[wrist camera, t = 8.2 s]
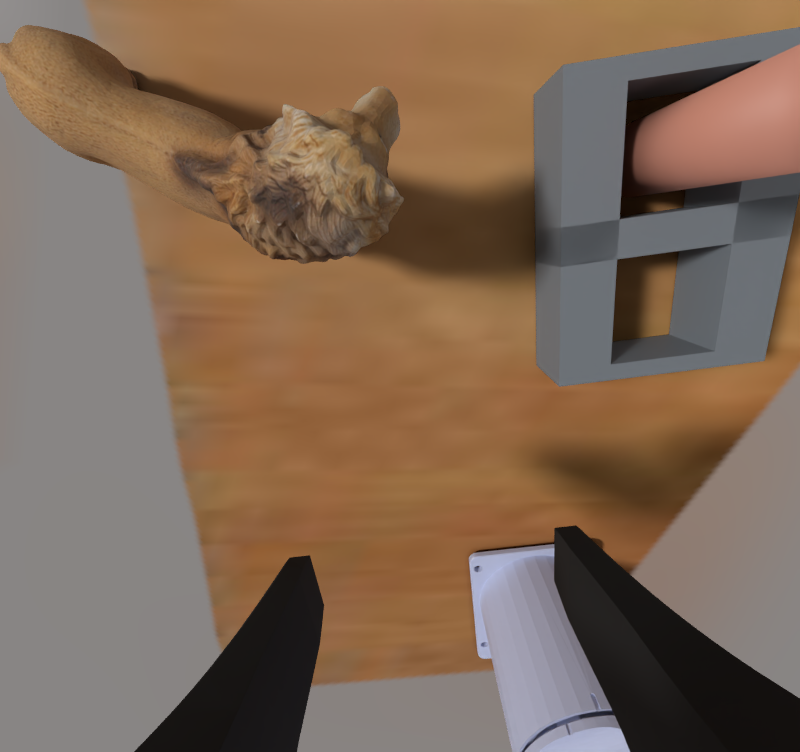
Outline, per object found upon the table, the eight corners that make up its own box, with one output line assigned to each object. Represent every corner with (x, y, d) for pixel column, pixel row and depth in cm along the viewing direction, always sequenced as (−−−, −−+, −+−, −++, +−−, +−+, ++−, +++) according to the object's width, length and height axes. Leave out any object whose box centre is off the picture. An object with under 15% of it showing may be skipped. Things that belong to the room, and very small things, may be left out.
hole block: (712, 342, 20) (764, 360, 17) (536, 365, 20) (559, 386, 17) (756, 60, 16) (835, 21, 13) (533, 94, 16) (563, 65, 13)
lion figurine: (415, 149, 17) (435, 63, 8) (387, 272, 18) (378, 304, 10) (61, 46, 15) (-351, -184, 7) (68, 189, 17) (-253, 146, 9)
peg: (669, 191, 17) (879, 160, 10) (602, 202, 17) (757, 179, 10) (676, 113, 16) (917, 11, 9) (604, 125, 16) (780, 36, 9)
